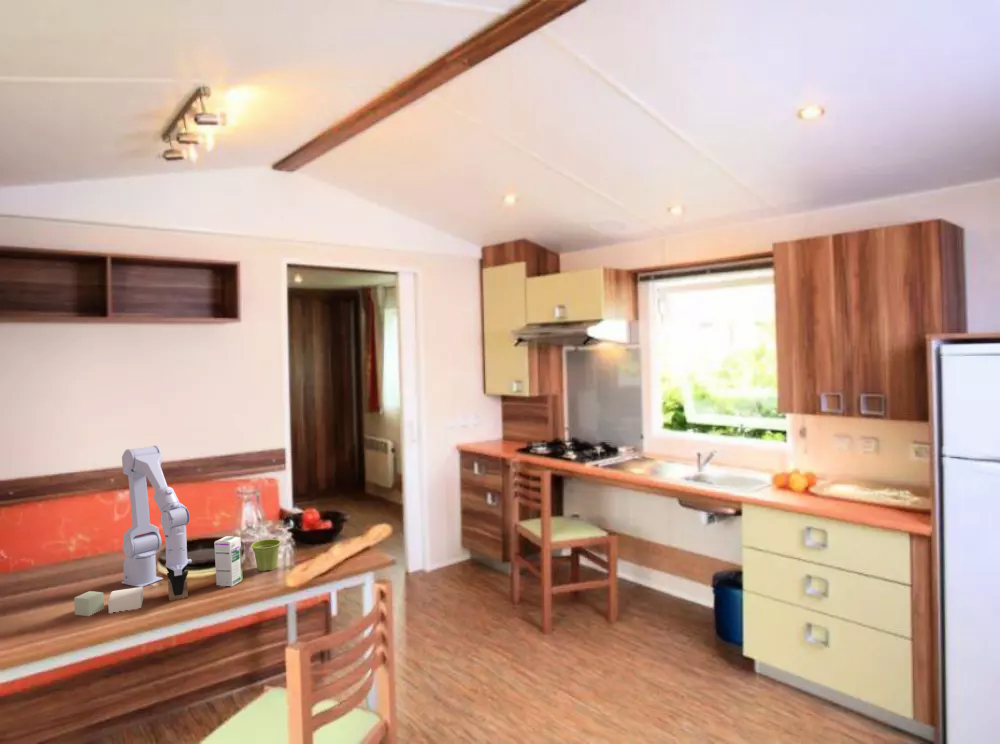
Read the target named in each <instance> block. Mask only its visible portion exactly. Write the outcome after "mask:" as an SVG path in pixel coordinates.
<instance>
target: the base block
mask: <svg viewBox="0 0 1000 744" xmlns="http://www.w3.org/2000/svg"><path fill="white" fill-rule="evenodd" d="M143 589H144V586H143V587H132V588H124V589H119V590H118V589H117V590H113V591H111V592H110V595H109V598H108V600H107V601H108V603H107V604H108V606H107V607H108V614H109V613H110V614H114V613H113V612H116V613H120V612H119V611H122V612H126V611H125V610H128V611H132V610H131V609H134V610H139V609H138V608H141V609H142V605H143V601H144V590H143Z"/></svg>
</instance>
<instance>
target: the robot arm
mask: <svg viewBox="0 0 1000 744" xmlns="http://www.w3.org/2000/svg"><path fill="white" fill-rule="evenodd" d="M162 461H163V452H162V450H161V448H160V447H159V446H158V445H152V446H147V447H146V446H145V447H138V448H137V447H136V448H132V449H131V448H130V449H129V448H127V449H125V450H124V452H123V453H122V456H121V462H122V463H121V464H122V471H123V472H122V473H123V475H126V476H128V477H127V478H128V489H129V490H128V491H129V499H130V502H129V503H130V510H131V511H130V514H131V522H132V524H131V526H130V527H129V528H128V529H127V530H126V531H125V532H124V533H123V542H122V551H123V553H124V555H125V558H124V560H123V564H122V565H123V581H121V584H122V585H123V584H124V585H128V586H131V587H135V588H137V587H143V588H144V587H146V586H149V585H150V584H153V583H157V582H159V581H162V580H163V577H161V576H157V563H156V562H157V558H156V554H157V553H158V550H160V548H161V546H162V537H161V534H160V530H159V527H158V526H156V525H154V524H152V523H151V520H150V519H151V518H150V507H149V495H148V485H147V480H148V481H149V483H150V484H151V486H152V488H153V490H154V494H153V499H154V501H155V503H156V506H157V508H158V510H159V512H160V514H161V515H160V525H161V526H162V534H163V535H164V538H165V539H164V540H165V541H164V542H165V545H164V546H165V561H166V562H165V569H166V570H167V572H166V575H167V579H169V580H170V582H171V584H172V588H173V592H174V595H175V596H177V595H182V593H183V589H184V582H185V579H186V578H187V577H188V575H189V570H186V569H187V566H188V564H191V563H192V558H188V548H187V547H188V545H187V543H188V542H187V525H188V524H189V523H190V518H191V516H190V511H189V510H188V507H187V506H185V505H184V504H183V503H181V502H180V500H179V498H178V496H177V494H176V492H175V490H174V488H173V487H170V486H168V483H167V480H166V479H165V475H164V473H163V469H162V466H161V465H162Z"/></svg>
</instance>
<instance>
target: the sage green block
mask: <svg viewBox="0 0 1000 744" xmlns="http://www.w3.org/2000/svg"><path fill="white" fill-rule="evenodd" d="M73 599H74V600H73V601H74V615H75V616H84V617H91V616H93V615H95V614H97V613H99V612H101V611H103V610H104V609H105V598H104V592H101V591H95V590H93V591H92V590H89V591H87V592H84V593H82V594H80V595H77V596H75V597H74V598H73ZM102 609H103V610H102ZM100 610H101V611H100ZM98 611H99V612H98ZM96 612H97V613H96ZM94 613H95V614H94ZM92 614H93V615H92ZM90 615H91V616H90Z"/></svg>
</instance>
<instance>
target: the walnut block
mask: <svg viewBox="0 0 1000 744" xmlns="http://www.w3.org/2000/svg"><path fill="white" fill-rule="evenodd" d="M167 587H168V601H169V600H171V601H175V600H174V599H177V600H180V599H179V598H182V599H184V598H183V597H188V596H189V594H188V593H189V592H188V579H187V577H186V579H185V582H184V589H183V593H182V595H177V596H175V595H174V592H173V588H172V584H171V582H170V580H169V578H167ZM188 598H189V597H188Z"/></svg>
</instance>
